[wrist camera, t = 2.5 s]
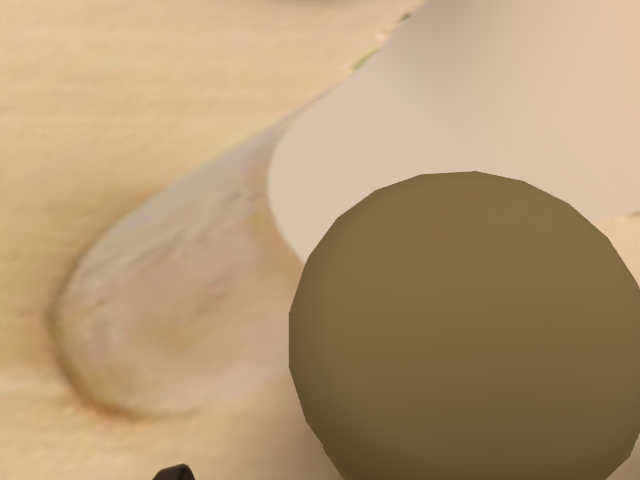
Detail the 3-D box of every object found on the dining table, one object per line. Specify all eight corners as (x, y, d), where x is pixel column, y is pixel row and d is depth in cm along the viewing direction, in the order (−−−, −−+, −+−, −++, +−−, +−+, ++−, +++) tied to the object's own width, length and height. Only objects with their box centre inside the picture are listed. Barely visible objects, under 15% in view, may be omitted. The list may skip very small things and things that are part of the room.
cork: (375, 551, 15) (401, 736, 5) (282, 365, 17) (167, 224, 7) (547, 444, 16) (883, 406, 5) (435, 280, 18) (528, 45, 8)
